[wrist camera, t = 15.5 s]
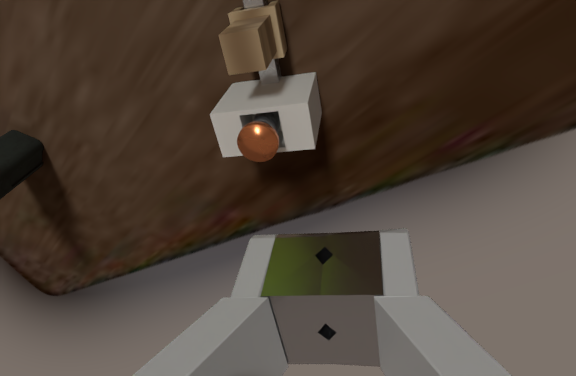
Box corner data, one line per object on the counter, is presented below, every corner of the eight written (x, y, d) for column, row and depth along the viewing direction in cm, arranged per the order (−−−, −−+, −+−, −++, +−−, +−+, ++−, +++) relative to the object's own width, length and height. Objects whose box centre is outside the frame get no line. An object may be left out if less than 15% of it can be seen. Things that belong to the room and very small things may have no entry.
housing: (315, 72, 46) (307, 102, 38) (321, 112, 48) (315, 148, 41) (232, 83, 48) (209, 114, 40) (242, 121, 50) (222, 157, 43)
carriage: (279, 0, 42) (262, 19, 34) (288, 49, 44) (274, 76, 37) (235, 7, 43) (209, 28, 35) (246, 55, 45) (224, 83, 38)
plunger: (283, 98, 42) (273, 122, 37) (290, 132, 44) (281, 160, 39) (246, 102, 43) (232, 127, 38) (255, 136, 45) (242, 163, 40)
